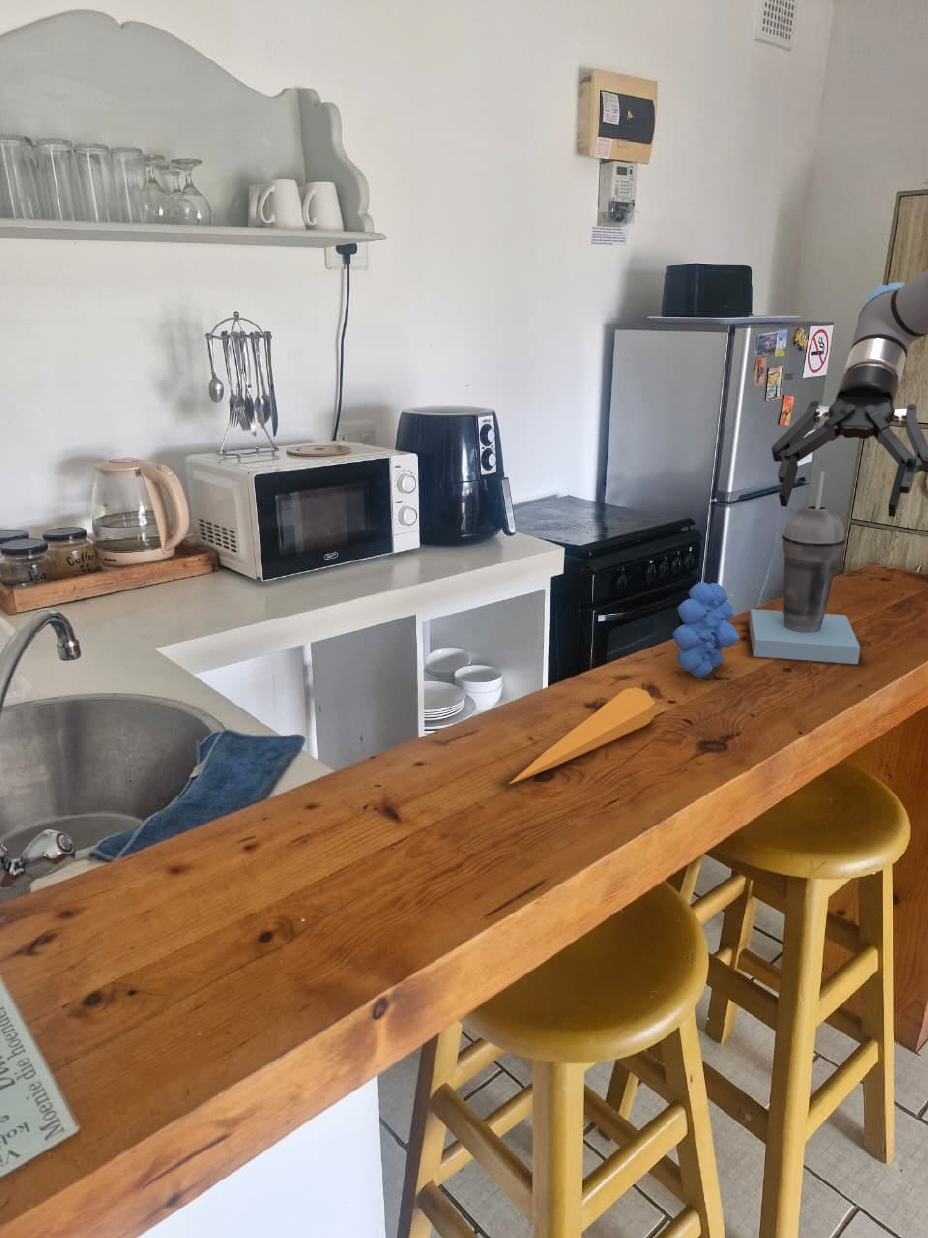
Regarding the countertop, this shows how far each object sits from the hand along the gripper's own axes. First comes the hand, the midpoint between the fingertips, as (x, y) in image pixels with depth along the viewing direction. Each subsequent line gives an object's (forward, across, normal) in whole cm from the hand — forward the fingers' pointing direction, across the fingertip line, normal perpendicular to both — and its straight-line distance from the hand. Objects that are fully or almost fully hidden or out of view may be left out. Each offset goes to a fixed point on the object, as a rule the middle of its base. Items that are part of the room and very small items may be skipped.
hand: (835, 505), depth 115 cm
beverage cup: (+18, 0, -2) cm, 18 cm away
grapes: (+31, +7, +9) cm, 33 cm away
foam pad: (+20, 0, -3) cm, 20 cm away
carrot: (+48, +12, +25) cm, 56 cm away
